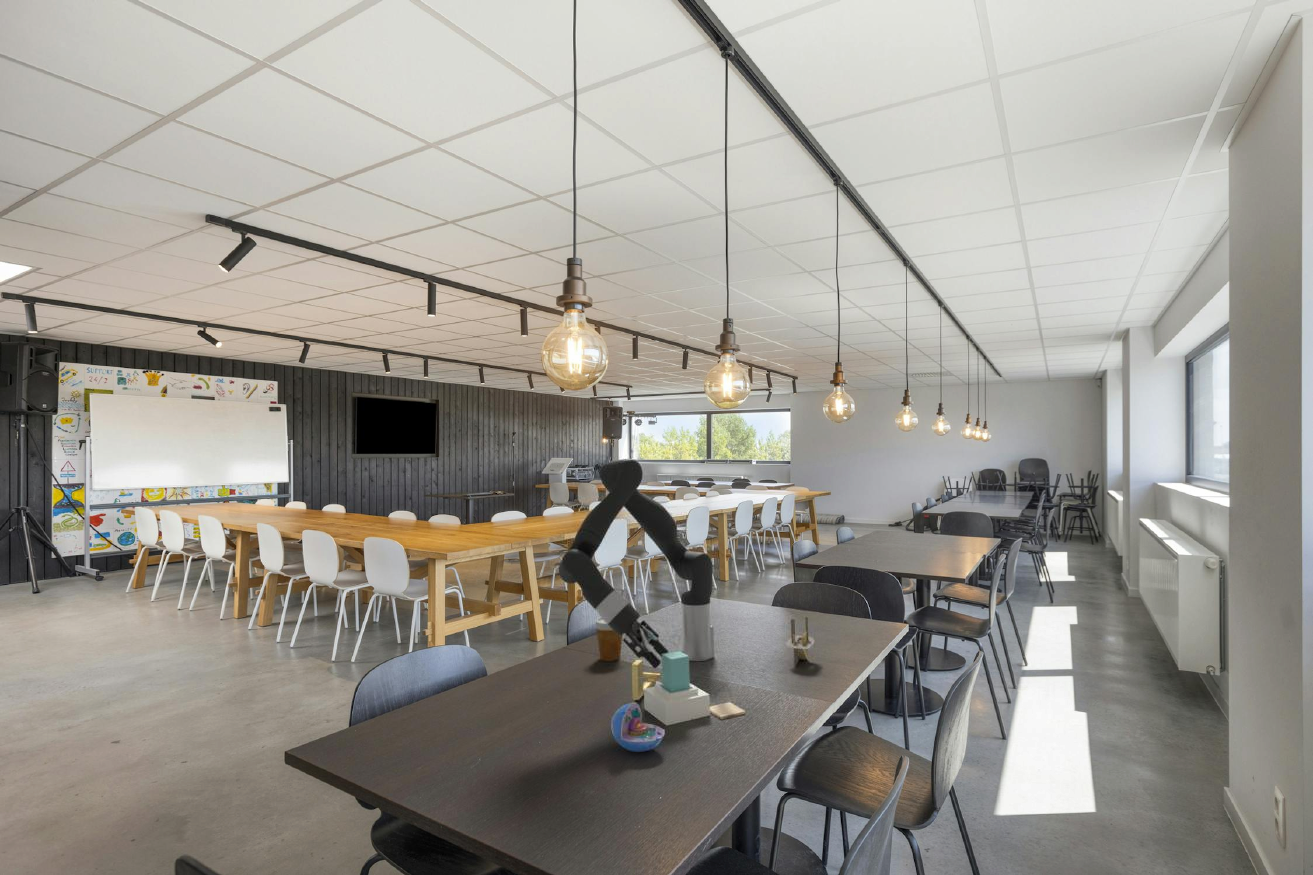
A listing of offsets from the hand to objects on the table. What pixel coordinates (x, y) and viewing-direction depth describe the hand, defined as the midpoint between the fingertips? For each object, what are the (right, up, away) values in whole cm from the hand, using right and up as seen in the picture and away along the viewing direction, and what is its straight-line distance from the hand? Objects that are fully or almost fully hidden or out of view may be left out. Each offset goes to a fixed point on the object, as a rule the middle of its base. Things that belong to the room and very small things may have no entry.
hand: (662, 660), depth 161 cm
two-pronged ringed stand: (+43, -14, +35) cm, 57 cm away
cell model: (-5, -12, -21) cm, 25 cm away
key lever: (-5, -13, +12) cm, 18 cm away
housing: (+4, -12, -1) cm, 13 cm away
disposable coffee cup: (-16, -15, +45) cm, 50 cm away
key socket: (-3, -13, +18) cm, 22 cm away
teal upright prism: (+3, -7, -1) cm, 8 cm away
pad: (+16, -12, -2) cm, 20 cm away
